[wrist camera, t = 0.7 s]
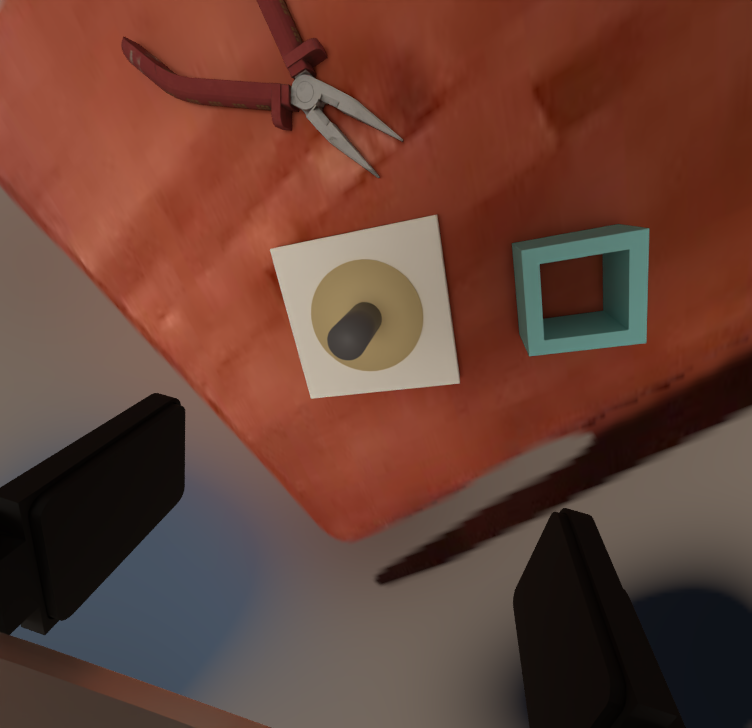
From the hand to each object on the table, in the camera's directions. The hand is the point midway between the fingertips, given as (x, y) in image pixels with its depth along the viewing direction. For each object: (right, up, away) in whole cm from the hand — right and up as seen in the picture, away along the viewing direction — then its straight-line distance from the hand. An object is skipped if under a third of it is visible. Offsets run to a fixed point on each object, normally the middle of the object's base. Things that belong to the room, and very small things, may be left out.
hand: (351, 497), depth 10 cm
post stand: (0, +8, +24) cm, 25 cm away
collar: (+15, +9, +20) cm, 26 cm away
